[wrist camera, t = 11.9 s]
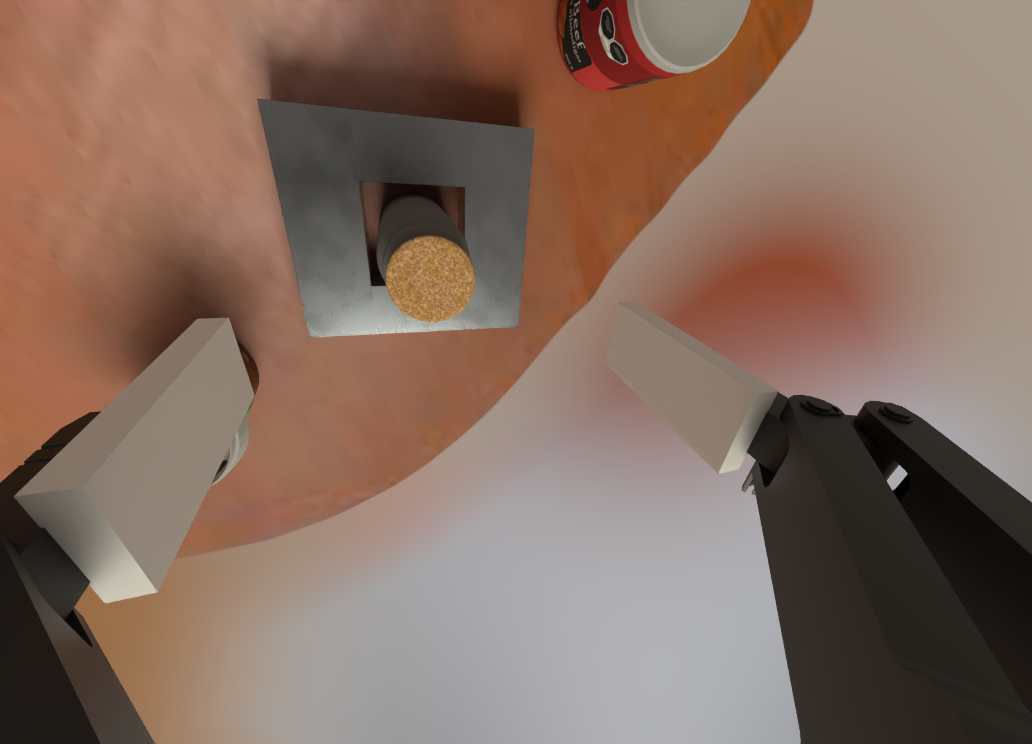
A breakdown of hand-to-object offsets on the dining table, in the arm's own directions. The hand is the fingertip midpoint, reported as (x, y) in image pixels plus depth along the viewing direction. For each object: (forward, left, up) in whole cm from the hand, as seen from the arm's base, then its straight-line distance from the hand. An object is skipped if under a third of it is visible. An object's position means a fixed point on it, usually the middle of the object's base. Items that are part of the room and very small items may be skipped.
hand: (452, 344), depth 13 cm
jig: (0, 0, -23) cm, 23 cm away
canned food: (-15, +15, -23) cm, 31 cm away
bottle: (0, 0, -23) cm, 23 cm away
